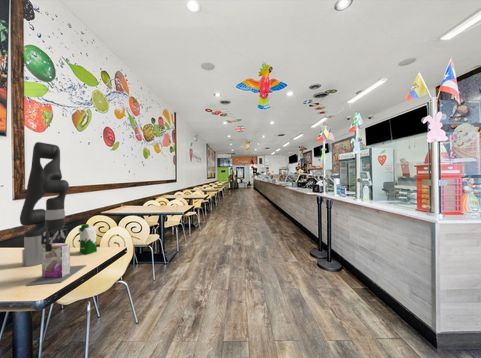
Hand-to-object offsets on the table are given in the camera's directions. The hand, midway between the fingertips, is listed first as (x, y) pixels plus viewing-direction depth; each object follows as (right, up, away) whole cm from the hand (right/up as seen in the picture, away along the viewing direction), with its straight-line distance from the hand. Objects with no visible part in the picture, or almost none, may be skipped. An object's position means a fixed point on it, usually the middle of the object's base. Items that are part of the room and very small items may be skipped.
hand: (55, 248), depth 103 cm
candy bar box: (+1, -15, 0) cm, 15 cm away
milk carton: (-10, -16, +36) cm, 40 cm away
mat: (0, -15, +2) cm, 15 cm away
